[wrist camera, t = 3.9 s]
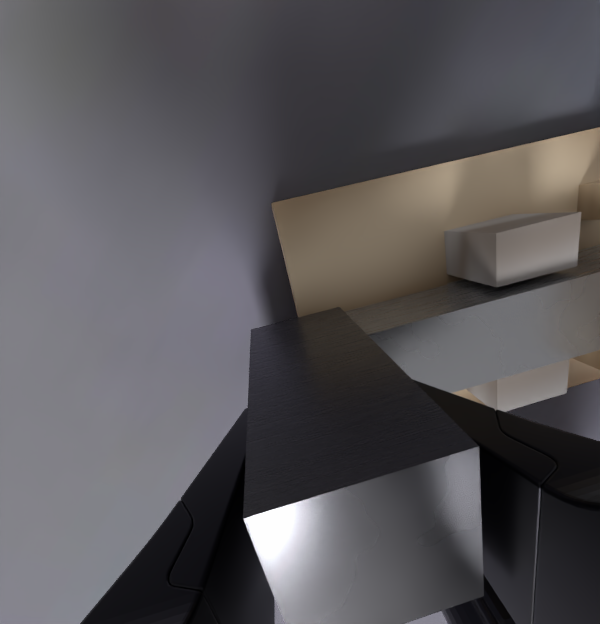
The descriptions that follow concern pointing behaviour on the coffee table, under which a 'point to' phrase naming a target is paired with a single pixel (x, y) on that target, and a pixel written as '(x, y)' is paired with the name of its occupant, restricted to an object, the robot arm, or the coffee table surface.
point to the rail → (412, 217)
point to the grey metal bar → (390, 440)
